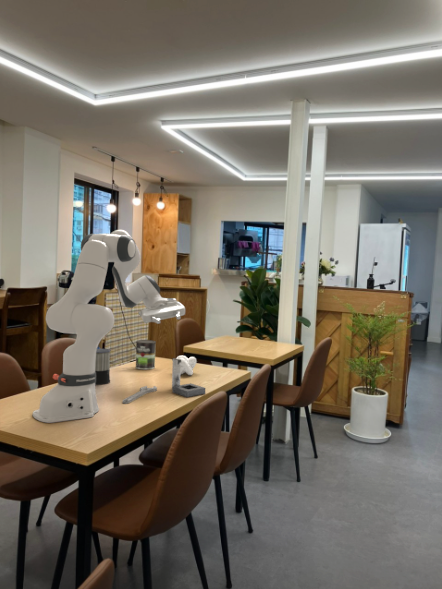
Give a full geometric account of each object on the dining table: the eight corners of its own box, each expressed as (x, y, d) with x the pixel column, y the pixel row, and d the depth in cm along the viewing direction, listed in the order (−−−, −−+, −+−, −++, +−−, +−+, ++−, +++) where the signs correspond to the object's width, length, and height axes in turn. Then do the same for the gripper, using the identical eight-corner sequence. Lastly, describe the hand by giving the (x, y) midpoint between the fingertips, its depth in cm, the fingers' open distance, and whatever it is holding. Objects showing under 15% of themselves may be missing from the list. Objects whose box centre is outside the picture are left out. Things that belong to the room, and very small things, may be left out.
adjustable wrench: (127, 405, 179) (127, 400, 178) (113, 403, 181) (113, 399, 181) (158, 390, 202) (158, 386, 202) (146, 388, 204) (146, 384, 204)
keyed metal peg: (176, 390, 201) (177, 360, 200) (169, 388, 205) (170, 358, 204) (182, 389, 203) (183, 359, 203) (175, 387, 207) (176, 357, 206)
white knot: (198, 376, 229) (199, 358, 228) (174, 377, 226) (175, 359, 226) (194, 371, 240) (195, 354, 239) (171, 372, 237) (172, 355, 237)
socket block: (186, 397, 190) (187, 391, 190) (172, 392, 198) (172, 386, 198) (205, 393, 197) (205, 387, 197) (190, 388, 204) (190, 383, 204)
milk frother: (111, 384, 208) (111, 351, 208) (74, 386, 203) (75, 352, 202) (107, 377, 222) (108, 346, 221) (73, 379, 216) (73, 347, 216)
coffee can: (151, 370, 241) (152, 343, 240) (132, 369, 242) (133, 342, 242) (157, 366, 251) (158, 340, 250) (139, 365, 252) (139, 339, 252)
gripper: (136, 305, 211) (146, 318, 200) (178, 297, 220) (189, 309, 208) (137, 317, 214) (146, 331, 203) (178, 309, 222) (190, 321, 211)
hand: (169, 320), depth 206 cm, fingers open, 8 cm apart
